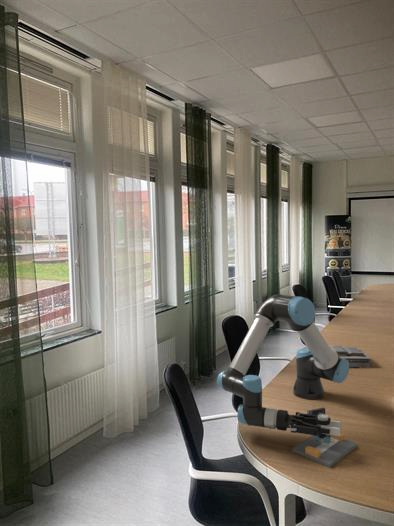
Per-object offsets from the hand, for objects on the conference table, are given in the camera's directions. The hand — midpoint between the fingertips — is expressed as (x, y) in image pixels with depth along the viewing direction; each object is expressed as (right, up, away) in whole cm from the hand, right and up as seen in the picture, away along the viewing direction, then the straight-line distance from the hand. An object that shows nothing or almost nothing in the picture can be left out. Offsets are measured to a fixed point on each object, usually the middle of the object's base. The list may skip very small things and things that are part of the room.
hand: (340, 428), depth 150 cm
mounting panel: (-5, -9, +3) cm, 10 cm away
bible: (+41, -2, +105) cm, 113 cm away
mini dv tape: (-2, -8, +24) cm, 26 cm away
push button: (-5, -6, +2) cm, 8 cm away
